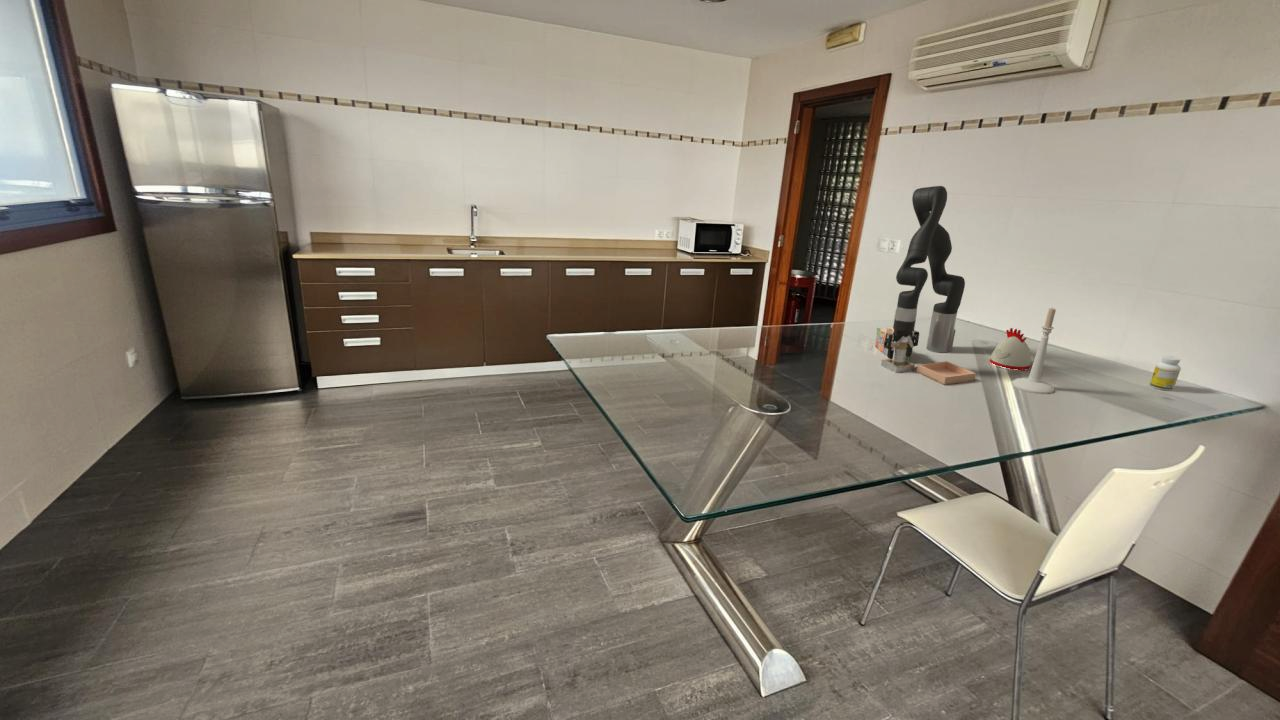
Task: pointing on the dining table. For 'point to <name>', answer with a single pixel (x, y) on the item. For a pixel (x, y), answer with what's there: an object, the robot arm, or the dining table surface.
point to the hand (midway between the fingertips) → (898, 357)
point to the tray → (946, 373)
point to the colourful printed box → (881, 339)
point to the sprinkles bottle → (900, 352)
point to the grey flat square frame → (901, 368)
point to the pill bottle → (1166, 373)
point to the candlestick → (1038, 364)
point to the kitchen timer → (1012, 352)
